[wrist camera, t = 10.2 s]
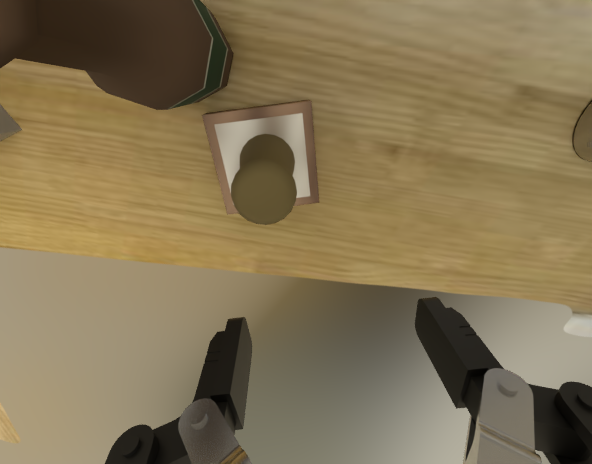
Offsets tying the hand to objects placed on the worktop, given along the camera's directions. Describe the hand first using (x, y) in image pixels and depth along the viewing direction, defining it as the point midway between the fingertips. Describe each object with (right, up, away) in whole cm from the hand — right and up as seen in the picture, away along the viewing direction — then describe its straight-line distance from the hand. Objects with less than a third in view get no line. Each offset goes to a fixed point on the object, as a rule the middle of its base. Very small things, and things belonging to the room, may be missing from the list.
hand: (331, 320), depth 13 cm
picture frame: (-5, +13, +19) cm, 24 cm away
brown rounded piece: (-5, +12, +17) cm, 22 cm away
